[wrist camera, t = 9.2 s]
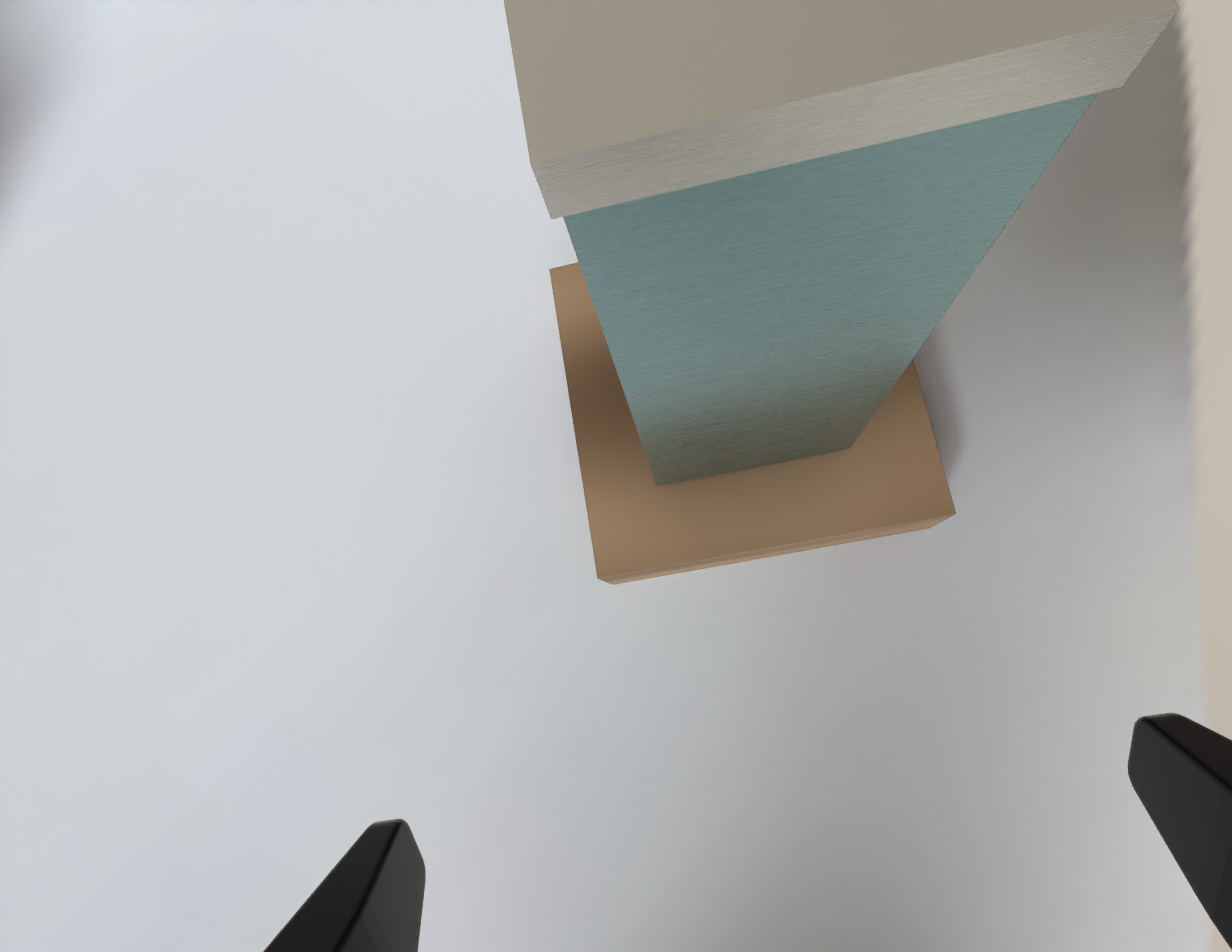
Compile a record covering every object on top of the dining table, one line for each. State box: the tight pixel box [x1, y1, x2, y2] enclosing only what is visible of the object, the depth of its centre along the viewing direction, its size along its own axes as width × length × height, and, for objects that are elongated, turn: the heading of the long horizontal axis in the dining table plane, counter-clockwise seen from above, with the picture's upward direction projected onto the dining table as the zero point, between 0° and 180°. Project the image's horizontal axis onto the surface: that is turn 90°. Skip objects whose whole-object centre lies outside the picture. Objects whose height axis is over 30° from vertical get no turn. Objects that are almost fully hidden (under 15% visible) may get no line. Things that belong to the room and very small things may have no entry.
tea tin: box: [504, 0, 1179, 486], centre depth 13 cm, size 5×5×13 cm
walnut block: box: [550, 262, 956, 585], centre depth 20 cm, size 9×9×3 cm
